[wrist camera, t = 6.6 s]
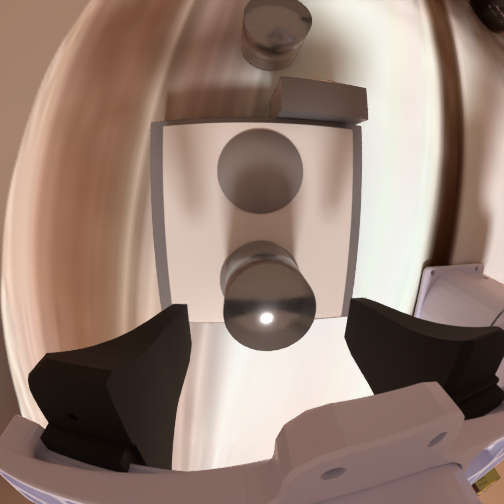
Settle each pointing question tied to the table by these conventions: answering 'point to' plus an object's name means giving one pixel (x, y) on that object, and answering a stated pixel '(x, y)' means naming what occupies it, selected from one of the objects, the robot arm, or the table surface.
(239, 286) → the cylinder
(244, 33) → the cylinder
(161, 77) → the table surface
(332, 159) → the scale
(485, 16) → the supplement bottle
